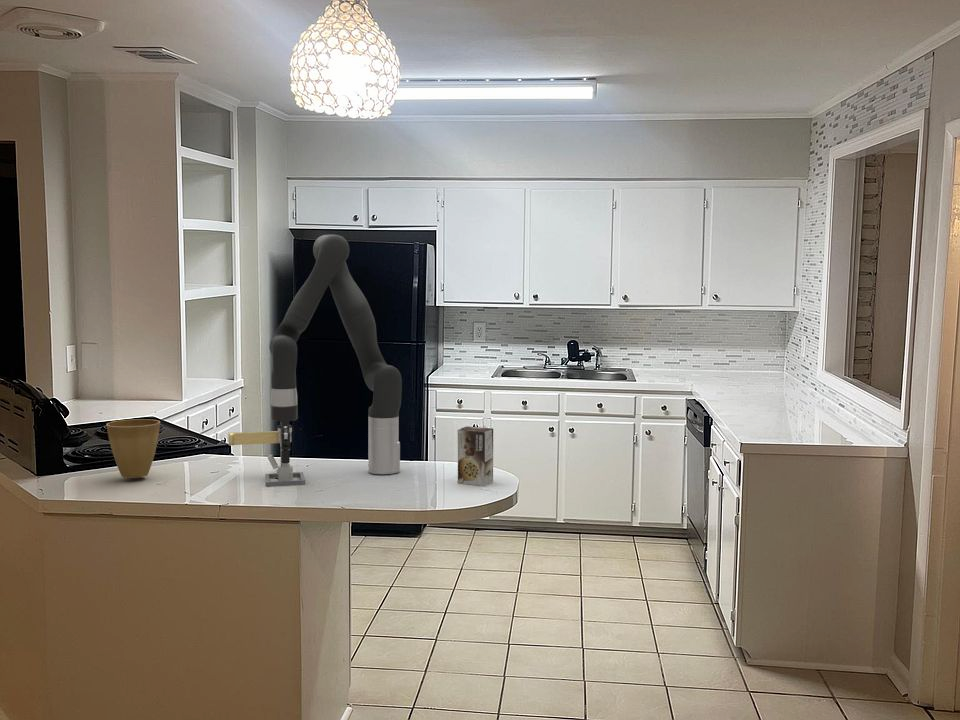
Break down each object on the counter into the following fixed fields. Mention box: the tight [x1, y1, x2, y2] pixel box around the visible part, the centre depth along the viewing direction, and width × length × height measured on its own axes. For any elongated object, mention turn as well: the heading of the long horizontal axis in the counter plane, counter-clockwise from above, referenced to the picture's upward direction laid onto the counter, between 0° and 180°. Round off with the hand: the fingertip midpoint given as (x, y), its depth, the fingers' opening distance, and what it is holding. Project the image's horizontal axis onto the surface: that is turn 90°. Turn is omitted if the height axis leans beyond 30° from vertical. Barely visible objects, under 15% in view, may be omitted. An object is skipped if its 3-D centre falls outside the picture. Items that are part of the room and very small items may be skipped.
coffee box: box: [457, 426, 494, 487], centre depth 255 cm, size 9×6×16 cm
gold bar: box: [227, 430, 280, 446], centre depth 262 cm, size 2×17×4 cm, turn 106°
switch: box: [264, 447, 306, 487], centre depth 258 cm, size 11×18×9 cm, turn 15°
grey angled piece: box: [267, 453, 294, 481], centre depth 255 cm, size 7×2×8 cm, turn 97°
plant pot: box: [105, 418, 161, 479], centre depth 260 cm, size 15×15×16 cm
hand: (285, 461), depth 255 cm, fingers closed
